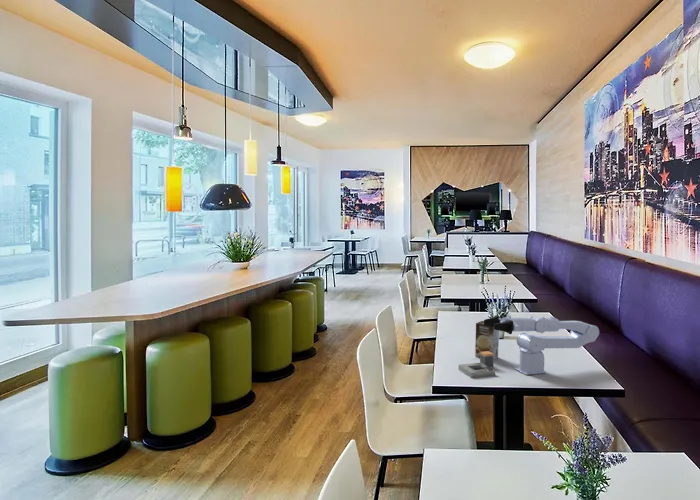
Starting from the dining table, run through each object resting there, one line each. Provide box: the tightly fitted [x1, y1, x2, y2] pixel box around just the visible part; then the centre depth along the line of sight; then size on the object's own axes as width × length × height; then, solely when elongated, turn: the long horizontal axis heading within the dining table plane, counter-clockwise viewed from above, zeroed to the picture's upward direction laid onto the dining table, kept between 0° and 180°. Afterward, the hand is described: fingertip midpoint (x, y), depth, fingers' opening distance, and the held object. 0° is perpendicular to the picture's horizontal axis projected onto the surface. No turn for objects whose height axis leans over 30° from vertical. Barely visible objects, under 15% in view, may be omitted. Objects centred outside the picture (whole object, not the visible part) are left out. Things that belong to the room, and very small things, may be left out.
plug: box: [479, 351, 494, 368], centre depth 211 cm, size 4×4×6 cm
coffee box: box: [474, 320, 500, 361], centre depth 223 cm, size 9×6×16 cm
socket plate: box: [458, 362, 496, 379], centre depth 203 cm, size 11×11×2 cm
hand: (489, 324), depth 197 cm, fingers open, 7 cm apart
